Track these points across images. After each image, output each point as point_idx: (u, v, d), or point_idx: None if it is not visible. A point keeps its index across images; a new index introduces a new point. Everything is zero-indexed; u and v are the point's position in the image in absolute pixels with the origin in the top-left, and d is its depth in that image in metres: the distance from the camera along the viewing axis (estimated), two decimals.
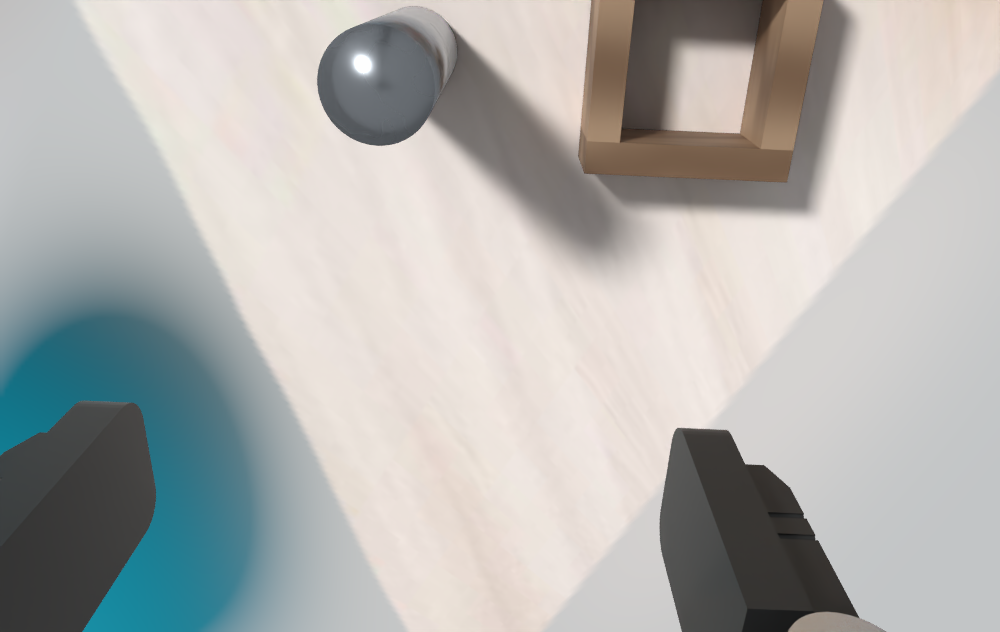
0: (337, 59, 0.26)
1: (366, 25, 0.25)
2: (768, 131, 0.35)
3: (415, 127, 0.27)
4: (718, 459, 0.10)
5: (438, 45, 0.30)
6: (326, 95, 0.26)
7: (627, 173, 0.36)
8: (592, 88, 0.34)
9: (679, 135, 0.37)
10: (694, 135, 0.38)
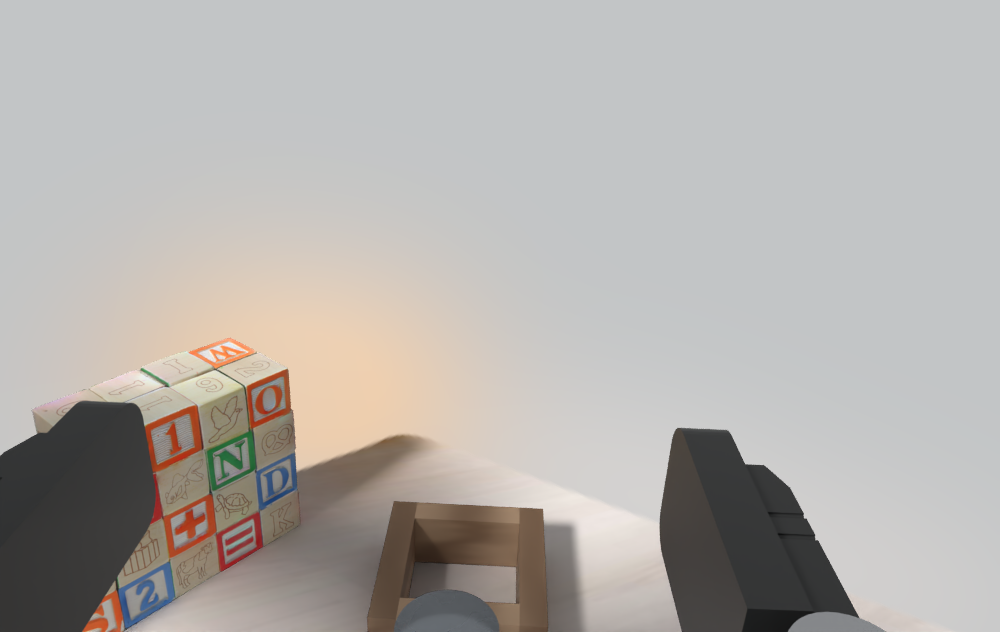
0: None
1: None
2: (506, 520, 0.48)
3: (482, 604, 0.30)
4: (718, 459, 0.10)
5: None
6: None
7: (545, 597, 0.42)
8: None
9: None
10: None
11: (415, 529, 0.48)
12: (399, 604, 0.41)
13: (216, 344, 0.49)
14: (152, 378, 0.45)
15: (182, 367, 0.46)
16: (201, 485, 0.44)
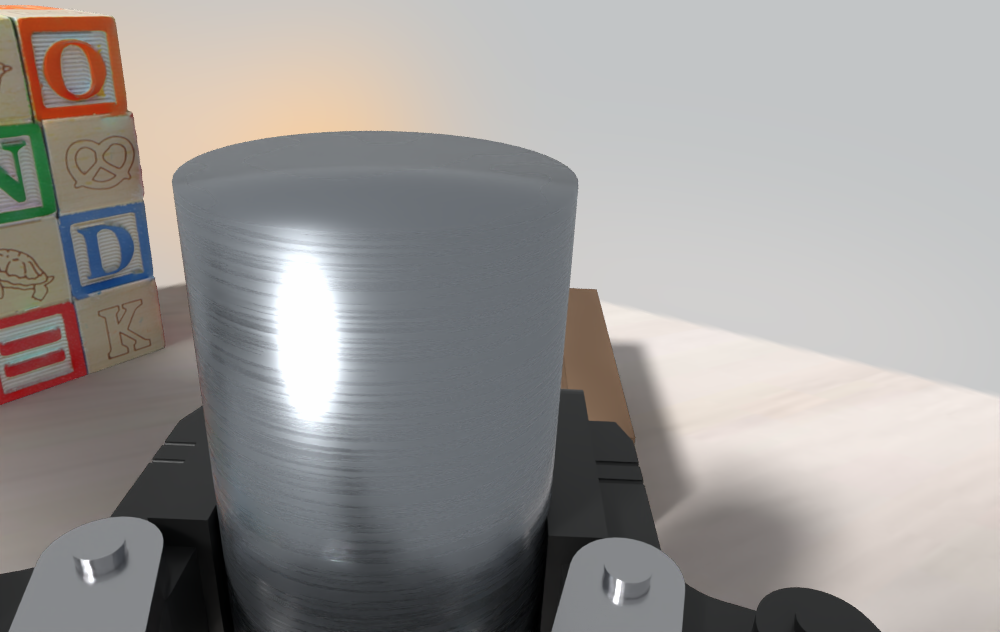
0: (262, 203, 0.07)
1: (182, 171, 0.08)
2: None
3: (510, 147, 0.09)
4: (564, 414, 0.11)
5: None
6: (395, 224, 0.06)
7: (621, 395, 0.21)
8: None
9: None
10: None
11: None
12: None
13: (0, 6, 0.27)
14: None
15: None
16: None
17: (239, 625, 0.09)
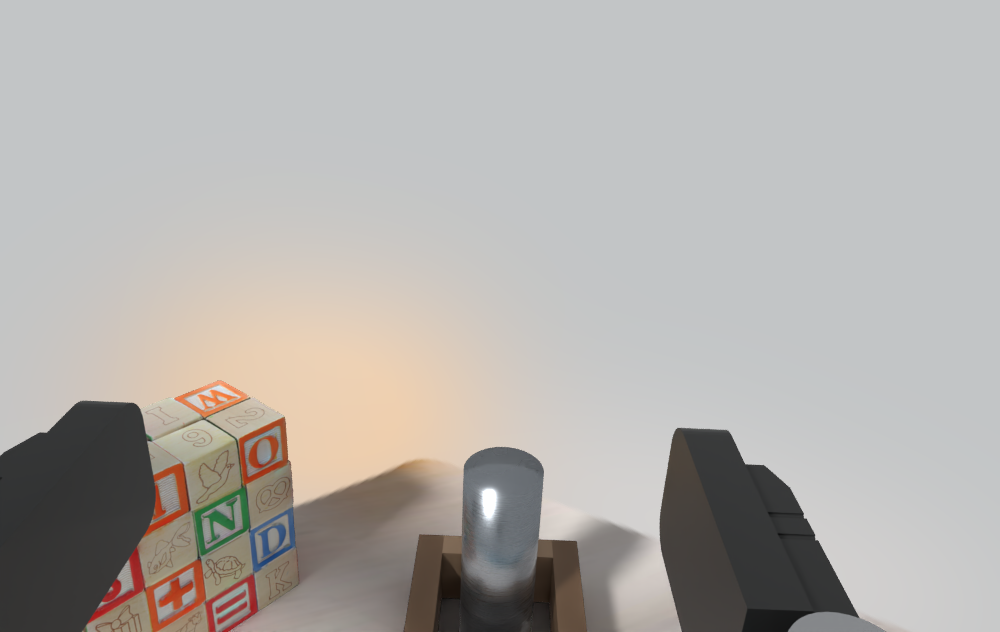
0: (485, 485, 0.37)
1: (464, 472, 0.38)
2: (539, 554, 0.45)
3: (529, 455, 0.40)
4: (718, 459, 0.10)
5: None
6: (511, 491, 0.37)
7: None
8: None
9: (553, 631, 0.43)
10: (552, 622, 0.44)
11: (442, 564, 0.45)
12: None
13: (205, 388, 0.44)
14: None
15: (167, 417, 0.41)
16: (188, 550, 0.40)
17: (468, 564, 0.39)
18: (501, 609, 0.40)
